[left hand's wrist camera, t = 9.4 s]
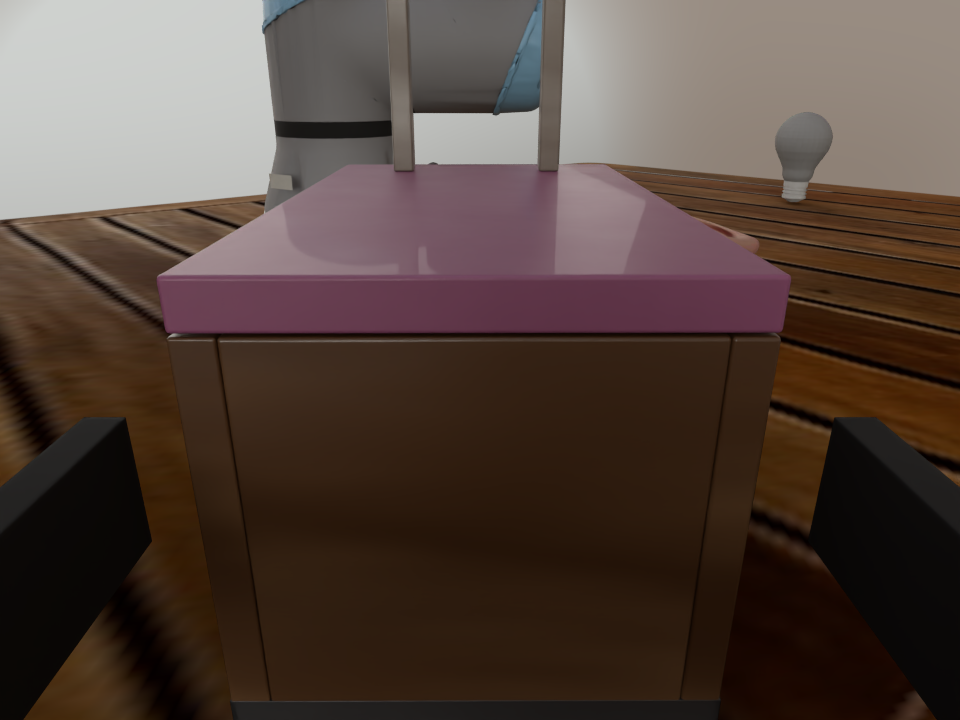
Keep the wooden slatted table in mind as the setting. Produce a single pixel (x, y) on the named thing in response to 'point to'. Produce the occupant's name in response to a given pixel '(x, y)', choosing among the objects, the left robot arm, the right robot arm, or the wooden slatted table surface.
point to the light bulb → (801, 151)
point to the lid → (474, 245)
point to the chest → (474, 518)
